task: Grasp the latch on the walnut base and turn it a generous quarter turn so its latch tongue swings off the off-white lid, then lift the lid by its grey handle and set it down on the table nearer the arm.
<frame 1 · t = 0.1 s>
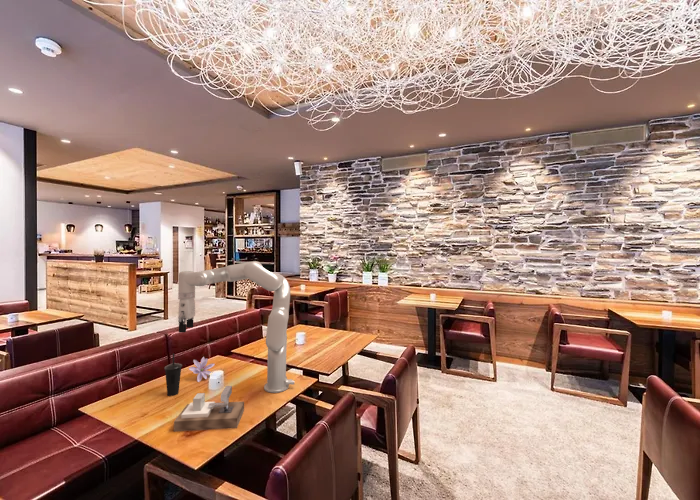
hand: (186, 329, 158), 31 cm above the table, tool pointing down, fingers open, 9 cm apart
cover: (198, 411, 131), point 4 cm above the table, touching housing
latch: (219, 399, 132), point 9 cm above the table, hinge at 0.0°
drinking cup: (173, 394, 155), on the table
water lily: (202, 378, 175), on the table
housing: (211, 420, 132), on the table
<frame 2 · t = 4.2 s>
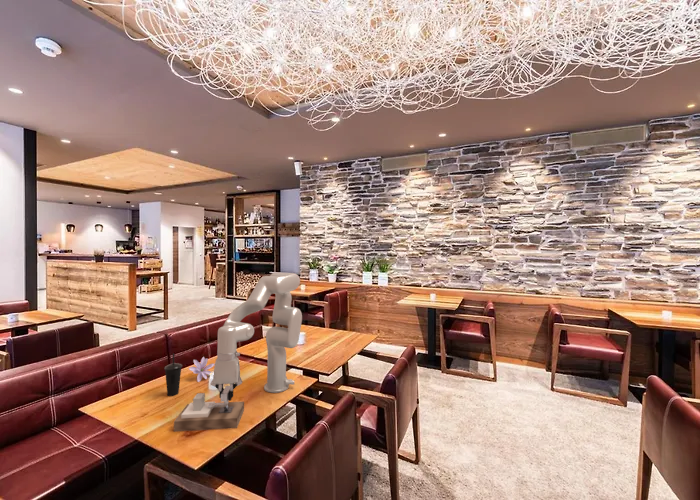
hand: (226, 399, 133), 9 cm above the table, tool pointing down, fingers closed on latch, 2 cm apart
latch: (219, 399, 132), point 9 cm above the table, hinge at 0.0°, touching gripper
everything else where it was.
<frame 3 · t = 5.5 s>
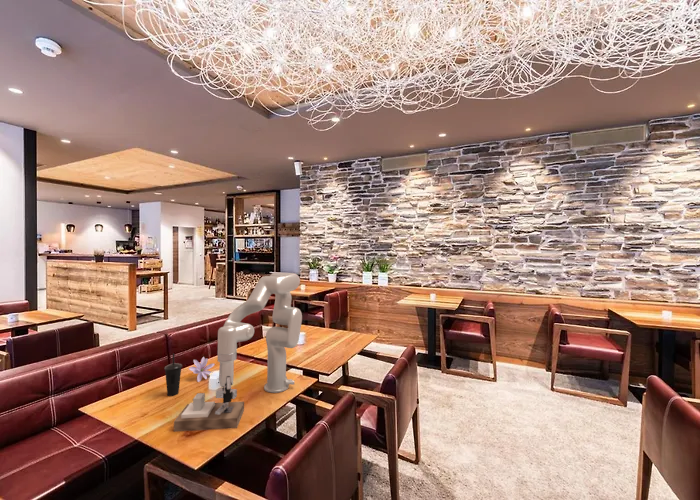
hand: (226, 398, 133), 9 cm above the table, tool pointing down, fingers closed on latch, 4 cm apart
latch: (222, 402, 130), point 9 cm above the table, hinge at 76.7°, touching gripper
everything else where it was.
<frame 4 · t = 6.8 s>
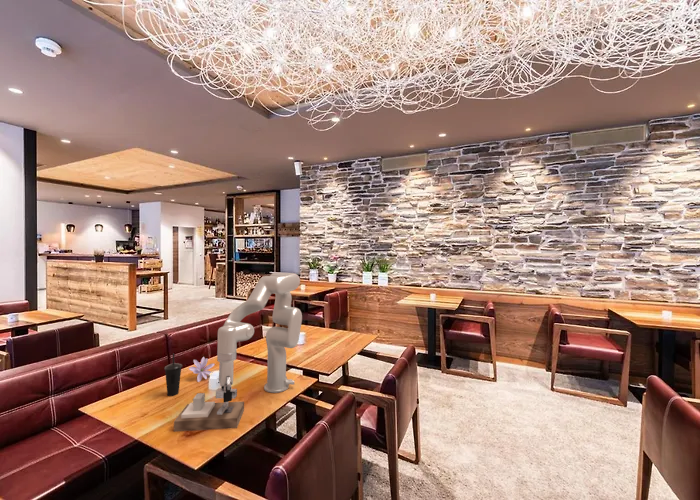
hand: (226, 396, 133), 10 cm above the table, tool pointing down, fingers open, 9 cm apart
latch: (223, 402, 130), point 9 cm above the table, hinge at 82.7°
everything else where it was.
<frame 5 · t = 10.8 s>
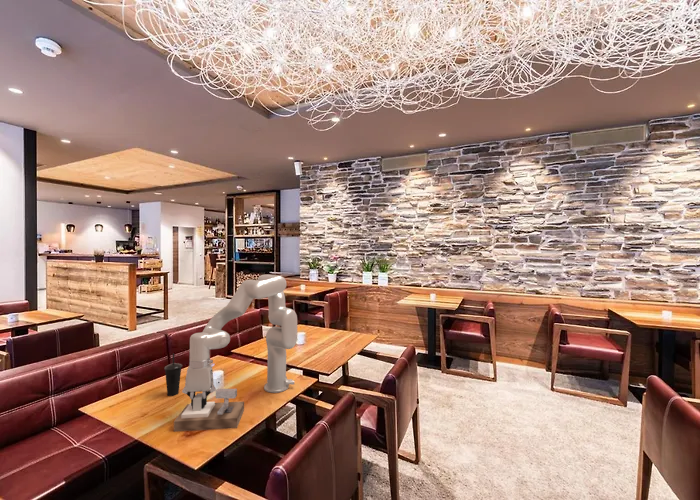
hand: (198, 406, 131), 6 cm above the table, tool pointing down, fingers closed on cover, 3 cm apart
cover: (198, 411, 131), point 4 cm above the table, touching gripper, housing
latch: (223, 402, 130), point 9 cm above the table, hinge at 84.0°
everything else where it was.
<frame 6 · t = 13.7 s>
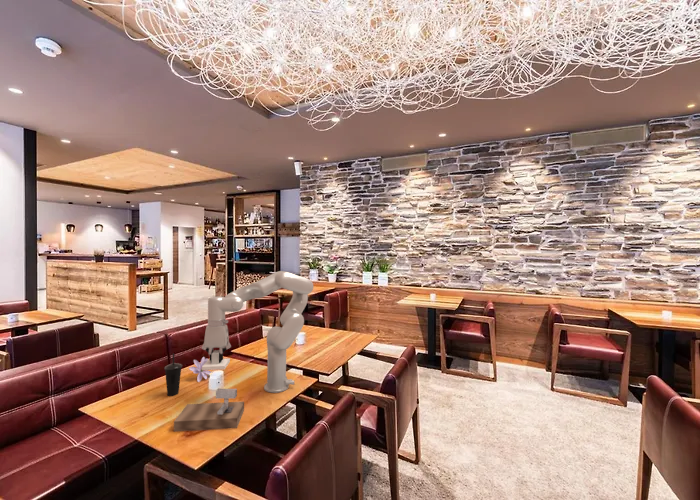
hand: (216, 361, 148), 19 cm above the table, tool pointing down, fingers closed on cover, 3 cm apart
cover: (216, 365, 148), point 17 cm above the table, touching gripper
everything else where it was.
when the fingers open (4 cm above the table, at t = 16.9 s): cover drops 2 cm, on the table.
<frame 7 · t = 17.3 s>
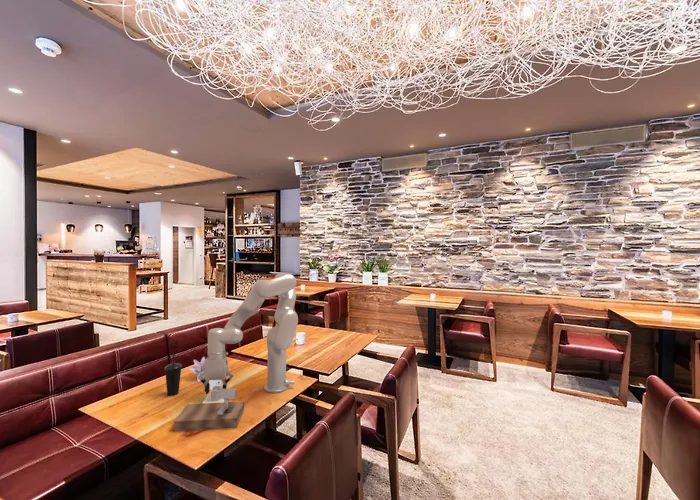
hand: (215, 392, 148), 4 cm above the table, tool pointing down, fingers open, 6 cm apart
cover: (215, 402, 148), on the table
everything else where it was.
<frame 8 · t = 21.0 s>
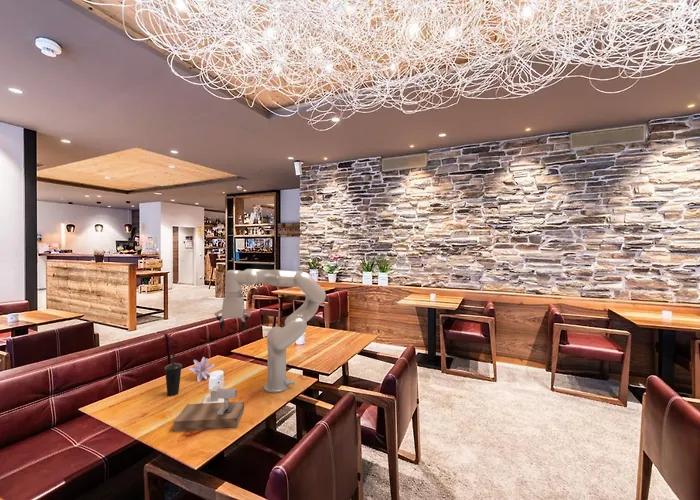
hand: (232, 329, 155), 32 cm above the table, tool pointing down, fingers open, 9 cm apart
nothing on the table moved.
at the end: latch at +84° (first picture: +0°); cover inside the target area (0.0 cm from its centre), on the table; cover tilted 0° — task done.
